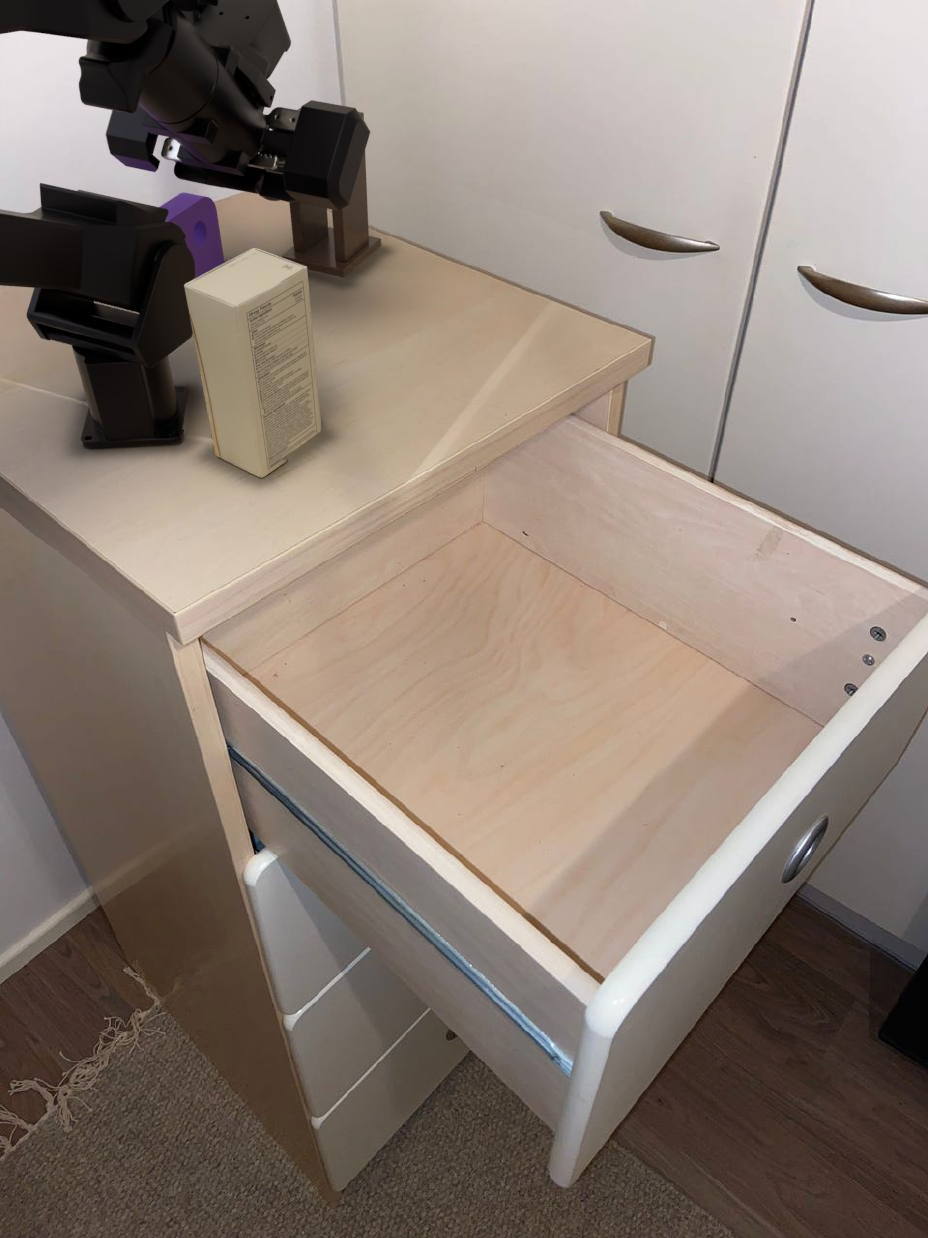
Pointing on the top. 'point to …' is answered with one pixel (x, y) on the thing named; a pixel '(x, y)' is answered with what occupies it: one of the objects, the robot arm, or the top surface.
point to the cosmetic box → (256, 358)
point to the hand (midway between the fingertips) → (287, 192)
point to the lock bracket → (333, 233)
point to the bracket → (198, 229)
